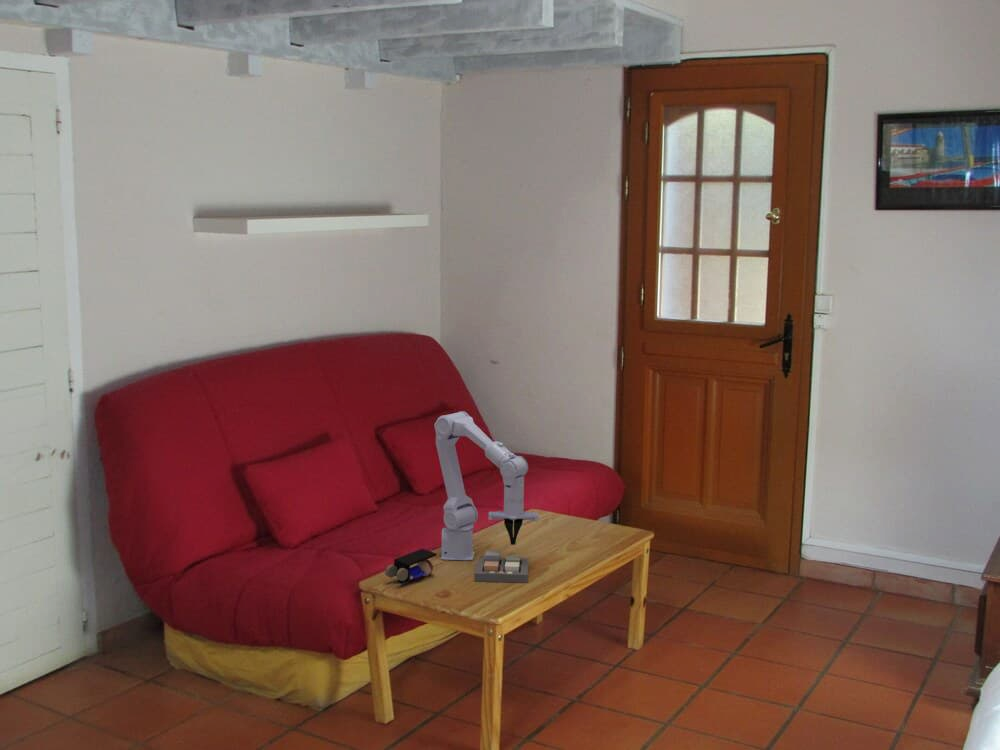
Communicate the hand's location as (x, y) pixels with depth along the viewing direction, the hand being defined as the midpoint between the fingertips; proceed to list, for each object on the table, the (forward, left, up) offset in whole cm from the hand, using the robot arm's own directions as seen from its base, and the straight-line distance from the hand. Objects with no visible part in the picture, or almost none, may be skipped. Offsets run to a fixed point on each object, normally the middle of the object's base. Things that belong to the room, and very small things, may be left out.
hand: (513, 543), depth 335 cm
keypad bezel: (-3, -3, -8) cm, 9 cm away
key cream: (0, -6, -6) cm, 9 cm away
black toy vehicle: (-28, -11, -9) cm, 32 cm away
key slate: (-6, 0, -6) cm, 9 cm away
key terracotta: (-6, -6, -6) cm, 10 cm away
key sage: (0, 0, -7) cm, 7 cm away
